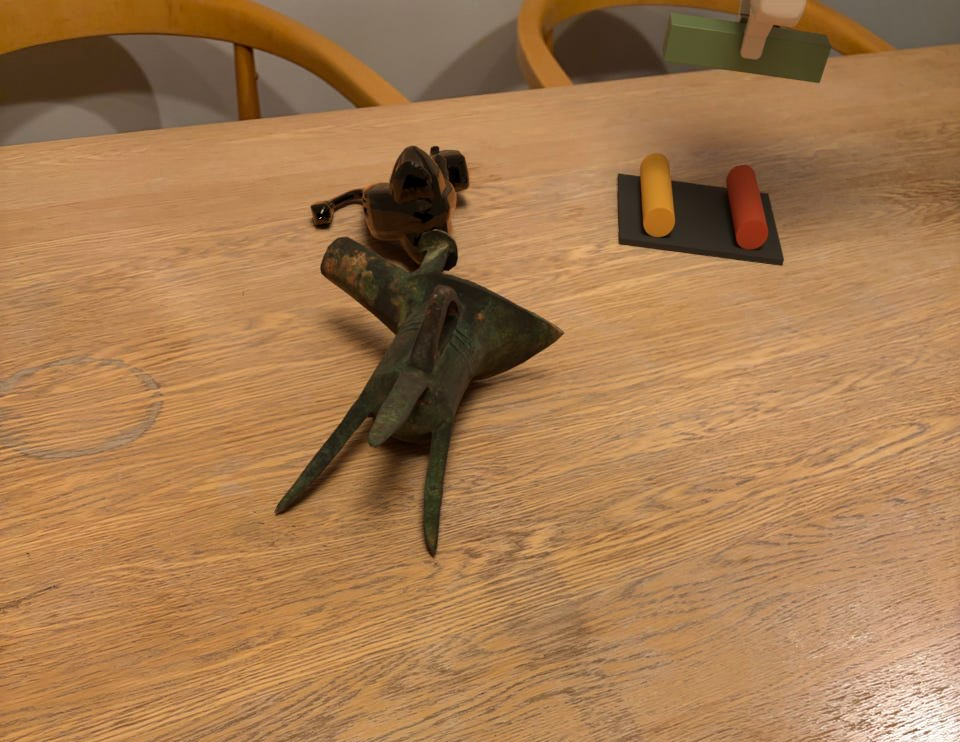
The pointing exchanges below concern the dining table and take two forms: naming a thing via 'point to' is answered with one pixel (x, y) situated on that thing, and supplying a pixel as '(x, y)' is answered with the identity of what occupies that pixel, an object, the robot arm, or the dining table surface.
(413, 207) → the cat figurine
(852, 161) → the dining table surface
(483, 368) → the vessel
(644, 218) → the rod stand
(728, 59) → the bar
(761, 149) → the dining table surface
